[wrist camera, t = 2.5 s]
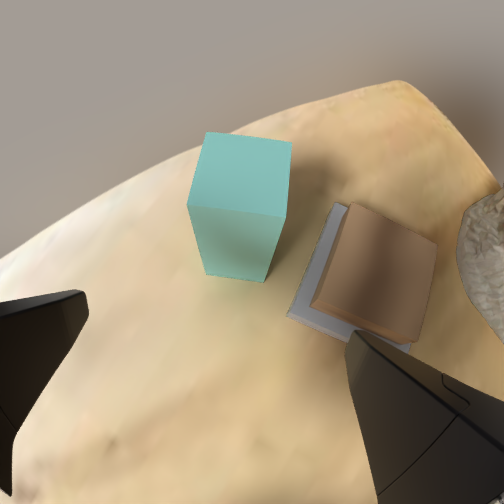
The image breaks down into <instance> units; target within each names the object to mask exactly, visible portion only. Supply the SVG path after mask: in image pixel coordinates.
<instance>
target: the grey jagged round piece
mask: <svg viewBox="0 0 504 504" xmlns="http://www.w3.org/2000/svg"><path fill="white" fill-rule="evenodd" d="M457 242H458V243H457V244H458V246H457V248H456V255H457V263H458V268H459V272H460V276H461V279H462V282H463V285H464V288H465V291H466V293H467V295H468V297H469V298H470V299H471V302H472V304H473V305H474V306H475V307H476V308H477V310H478V311H479V312H480V313H481V314H482V316H483V317H484V318H485V319H486V321H487V323H488V324H489V326H490V327H491V328H492V329H493V330H494V332H495V333H496V335H497V336H498V337H499V338H500V340H501V341H502V343H503V344H504V185H503V188H502V189H501V190H500V191H499V192H497V193H496V194H491V195H488V196H486V197H484V198H483V199H481V200H480V201H478V202H477V203H475V204H473V205H471V206H470V207H469V208H468V209H467V210H466V211H465V213H464V217H463V219H462V225H461V228H460V231H459V235H458V240H457Z"/></svg>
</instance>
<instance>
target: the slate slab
mask: <svg viewBox="0 0 504 504" xmlns="http://www.w3.org/2000/svg"><path fill="white" fill-rule="evenodd" d="M347 209H348V208H347V207H345V206H343V205H341V204H338V203H336V202H335V203H334V205H333V207H332V209H331V210H330V212H329V215H328V217H327V220H326V222H325V225H324V227H323V230H322V232H321V235H320V237H319V240H318V242H317V245H316V247H315V250H314V252H313V254H312V257H311V259H310V262H309V264H308V266H307V269H306V271H305V274H304V276H303V278H302V281H301V283H300V285H299V288H298V290H297V292H296V295H295V297H294V299H293V301H292V304H291V306H290V308H289V310H288V313H287V315H286V317H289V318H291V319H293V320H295V321H298V322H300V323H302V324H304V325H307V326H309V327H311V328H313V329H316V330H318V331H320V332H322V333H325V334H327V335H329V336H332V337H334V338H336V339H339V340H341V341H343V342H346V343H348V341H349V339H350V336H351V333H352V332H353V331H354V330H363V329H361V328H358V327H356V326H353V325H351V324H349V323H346V322H344V321H342V320H339V319H337V318H334V317H332V316H330V315H327V314H325V313H323V312H320V311H318V310H316V309H313V308H311V307H309V305H310V303H311V300H312V298H313V295H314V293H315V290H316V288H317V285H318V282H319V280H320V277H321V275H322V272H323V269H324V267H325V264H326V261H327V258H328V256H329V253H330V250H331V247H332V245H333V242H334V239H335V236H336V233H337V230H338V228H339V225H340V222H341V219H342V216H343V215H344V213H345V212H346V210H347ZM365 331H366V330H365ZM367 332H368V331H367ZM369 333H370V332H369ZM371 334H372V335H374V336H376V337H378V338H380V339H381V340H383V341H385V342H387V343H389V344H390V345H392V346H394V347H396V348H398V349H400V350H401V351H403V352H405V353H407V354H408V352H409V349H410V345H411V343H408V344H403V345H400V344H397V343H395V342H392V341H390V340H387V339H385V338H383V337H380V336H378V335H375V334H373V333H371Z"/></svg>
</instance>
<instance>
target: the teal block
mask: <svg viewBox="0 0 504 504" xmlns="http://www.w3.org/2000/svg"><path fill="white" fill-rule="evenodd" d="M291 149H292V142H286V141H279V140H272V139H265V138H258V137H250V136H242V135H233V134H224V133H214V132H207V133H206V136H205V139H204V142H203V146H202V149H201V153H200V156H199V160H198V163H197V167H196V171H195V174H194V178H193V182H192V186H191V189H190V193H189V197H188V201H187V208H188V211H189V215H190V219H191V223H192V226H193V230H194V234H195V237H196V241H197V244H198V248H199V251H200V255H201V258H202V262H203V265H204V269H205V272H206V275H213V276H220V277H227V278H234V279H241V280H248V281H256V282H263V283H264V280H265V277H266V274H267V272H268V269H269V266H270V263H271V260H272V257H273V254H274V251H275V248H276V246H277V243H278V240H279V237H280V234H281V231H282V228H283V225H284V222H285V219H286V212H287V200H288V188H289V176H290V162H291Z"/></svg>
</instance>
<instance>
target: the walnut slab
mask: <svg viewBox="0 0 504 504" xmlns="http://www.w3.org/2000/svg"><path fill="white" fill-rule="evenodd" d="M437 248H438V245H437V244H435V243H433V242H432V241H430V240H428V239H426V238H424V237H422V236H420V235H419V234H417V233H415V232H413V231H411V230H409V229H407V228H405V227H403V226H401V225H399V224H397V223H395V222H393V221H391V220H389V219H387V218H385V217H383V216H381V215H379V214H377V213H375V212H373V211H371V210H369V209H367V208H364V207H362V206H360V205H358V204H356V203H354V202H352V203H351V204H350V206H349V207H348V209H347V210H346V212H345V213H344V215H343V216H342V219H341V222H340V225H339V228H338V230H337V233H336V236H335V239H334V242H333V245H332V247H331V250H330V253H329V256H328V258H327V261H326V264H325V267H324V269H323V272H322V275H321V277H320V280H319V282H318V285H317V288H316V290H315V293H314V295H313V298H312V300H311V303H310V305H309V307H311V308H313V309H316V310H318V311H320V312H323V313H325V314H327V315H330V316H332V317H334V318H337V319H339V320H342V321H344V322H346V323H349V324H351V325H353V326H356V327H358V328H361V329H363V330H366V331H368V332H370V333H373V334H375V335H378V336H380V337H383V338H385V339H387V340H390V341H392V342H395V343H397V344H400V345H403V344H408V343H413V342H417V341H418V338H419V335H420V331H421V327H422V323H423V319H424V315H425V311H426V307H427V302H428V298H429V293H430V288H431V283H432V278H433V272H434V267H435V261H436V255H437Z"/></svg>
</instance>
